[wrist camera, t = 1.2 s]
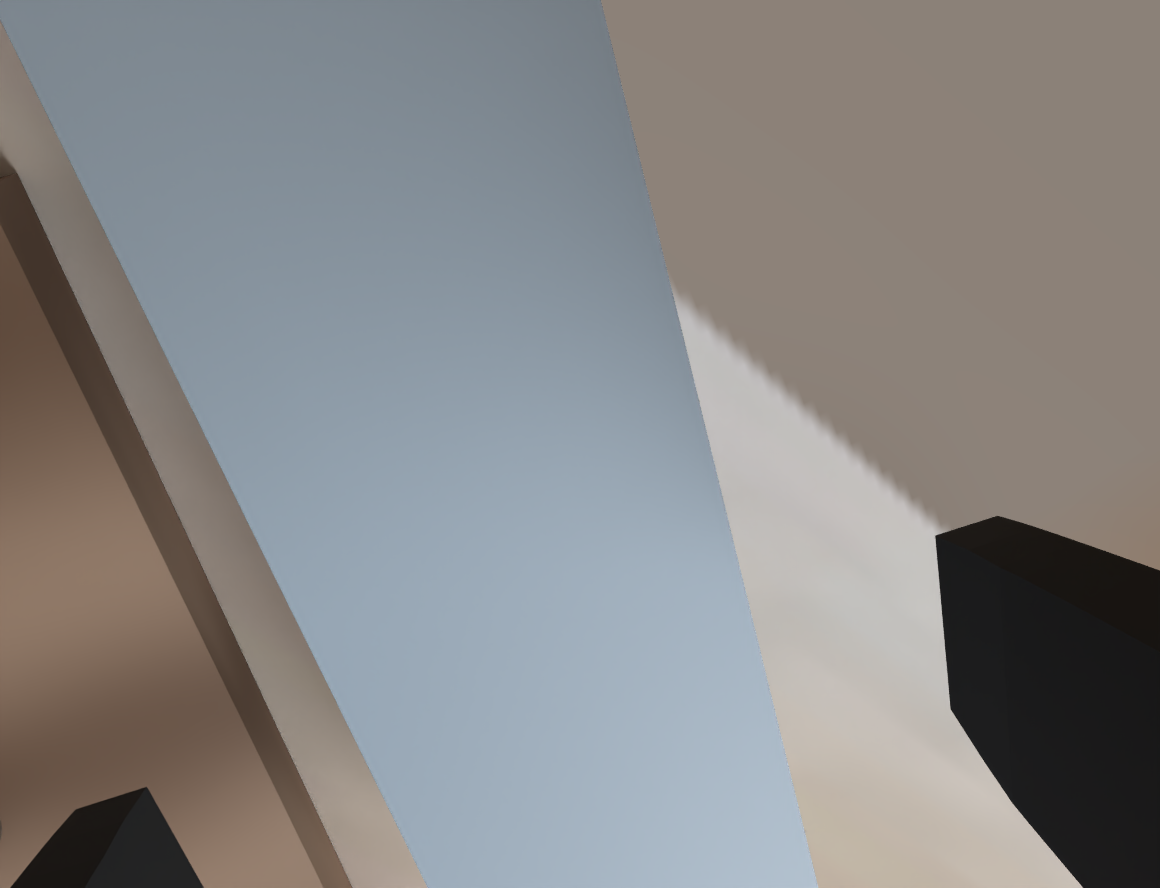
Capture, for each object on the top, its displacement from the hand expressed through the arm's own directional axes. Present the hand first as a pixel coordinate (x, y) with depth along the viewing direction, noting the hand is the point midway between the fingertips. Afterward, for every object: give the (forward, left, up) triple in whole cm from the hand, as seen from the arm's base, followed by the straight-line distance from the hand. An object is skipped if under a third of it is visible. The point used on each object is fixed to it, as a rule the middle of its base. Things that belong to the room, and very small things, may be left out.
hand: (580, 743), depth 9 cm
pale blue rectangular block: (0, 0, -7) cm, 7 cm away
